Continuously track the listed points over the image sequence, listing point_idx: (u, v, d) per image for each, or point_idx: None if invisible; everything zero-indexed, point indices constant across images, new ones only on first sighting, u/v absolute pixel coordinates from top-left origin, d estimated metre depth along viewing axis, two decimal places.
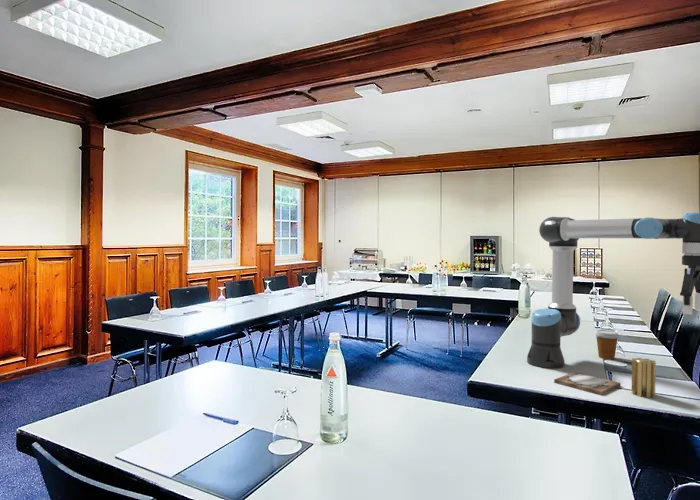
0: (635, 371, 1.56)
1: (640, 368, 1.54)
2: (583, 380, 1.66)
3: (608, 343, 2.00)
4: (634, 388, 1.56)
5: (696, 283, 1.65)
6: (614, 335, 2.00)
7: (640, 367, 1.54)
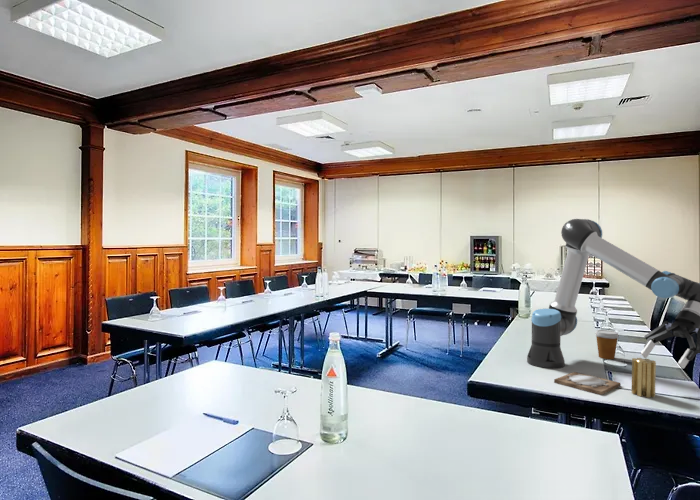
0: (635, 371, 1.56)
1: (640, 368, 1.54)
2: (583, 380, 1.66)
3: (608, 343, 2.00)
4: (634, 388, 1.56)
5: (664, 335, 1.63)
6: (614, 335, 2.00)
7: (640, 367, 1.54)
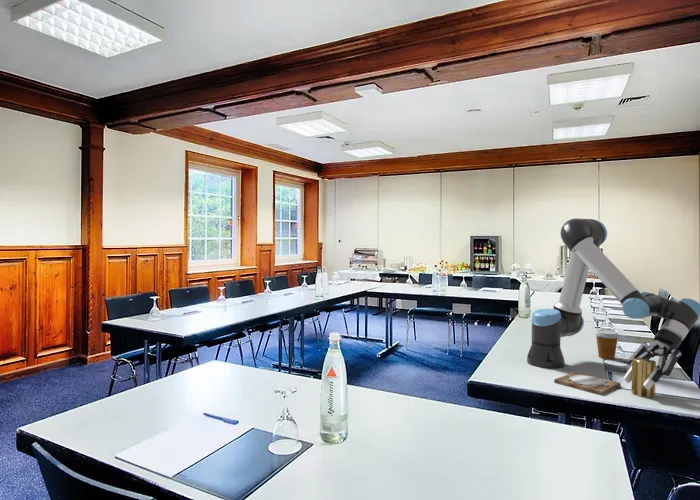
0: (635, 371, 1.56)
1: (640, 368, 1.54)
2: (583, 380, 1.66)
3: (608, 343, 2.00)
4: (634, 388, 1.56)
5: (646, 356, 1.60)
6: (614, 335, 2.00)
7: (640, 367, 1.54)
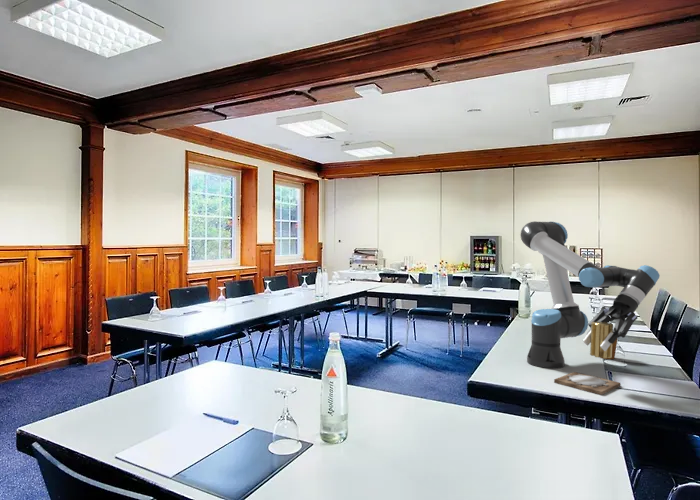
0: (593, 334, 1.63)
1: (598, 330, 1.61)
2: (583, 380, 1.66)
3: None
4: (592, 350, 1.63)
5: (604, 320, 1.67)
6: None
7: (598, 329, 1.61)
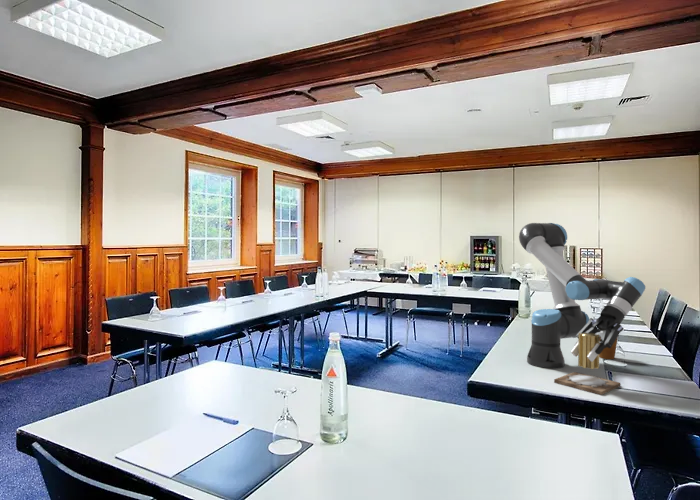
0: (581, 344, 1.66)
1: (585, 341, 1.64)
2: (583, 380, 1.66)
3: None
4: (580, 360, 1.66)
5: (592, 331, 1.70)
6: None
7: (585, 340, 1.64)
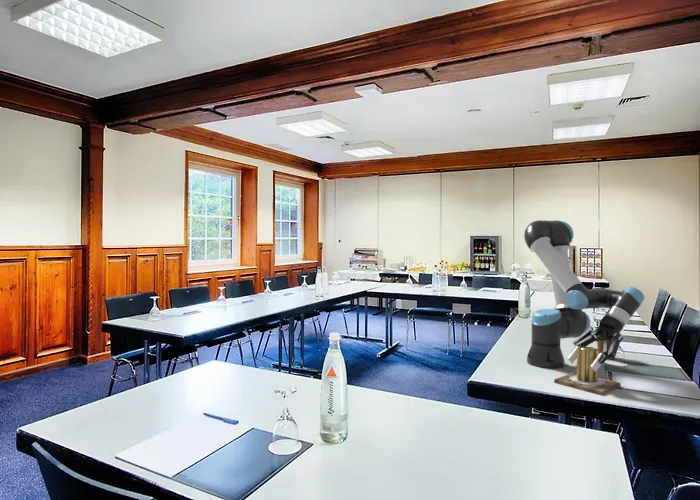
0: (579, 358, 1.66)
1: (583, 355, 1.64)
2: None
3: None
4: (578, 374, 1.67)
5: (589, 340, 1.71)
6: None
7: (583, 354, 1.64)
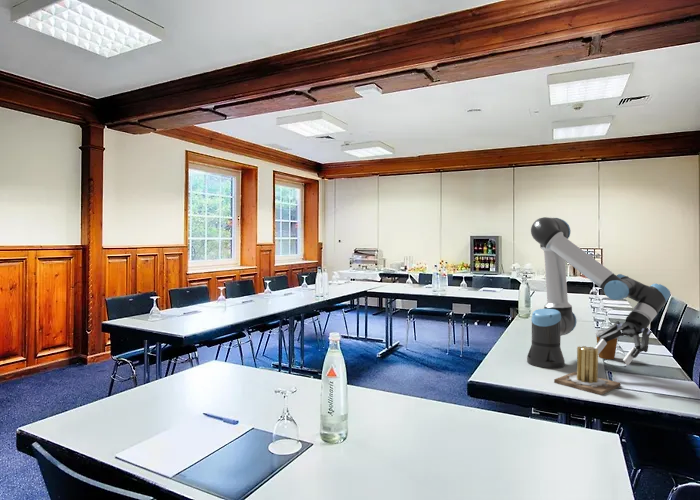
0: (579, 358, 1.66)
1: (583, 355, 1.64)
2: None
3: (608, 343, 2.00)
4: (578, 374, 1.67)
5: (615, 334, 1.76)
6: None
7: (583, 354, 1.64)
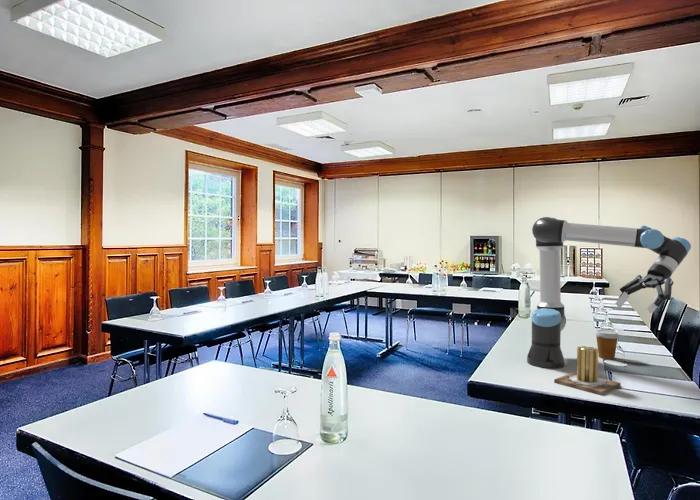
0: (579, 358, 1.66)
1: (583, 355, 1.64)
2: None
3: (608, 343, 2.00)
4: (578, 374, 1.67)
5: (637, 287, 1.80)
6: (614, 335, 2.00)
7: (583, 354, 1.64)
